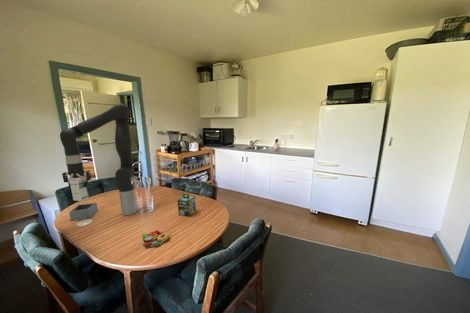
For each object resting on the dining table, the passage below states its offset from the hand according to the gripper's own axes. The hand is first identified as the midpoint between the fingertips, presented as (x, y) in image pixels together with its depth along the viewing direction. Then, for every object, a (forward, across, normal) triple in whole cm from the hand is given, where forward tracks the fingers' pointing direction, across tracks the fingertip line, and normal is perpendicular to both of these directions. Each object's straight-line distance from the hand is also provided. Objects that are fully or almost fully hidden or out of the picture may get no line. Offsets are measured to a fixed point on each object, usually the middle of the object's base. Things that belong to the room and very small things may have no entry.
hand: (79, 187), depth 120 cm
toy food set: (+25, -47, +32) cm, 62 cm away
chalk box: (+25, -64, +4) cm, 69 cm away
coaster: (+24, 0, +2) cm, 24 cm away
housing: (+24, +5, -10) cm, 26 cm away
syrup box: (+8, 0, 0) cm, 8 cm away
